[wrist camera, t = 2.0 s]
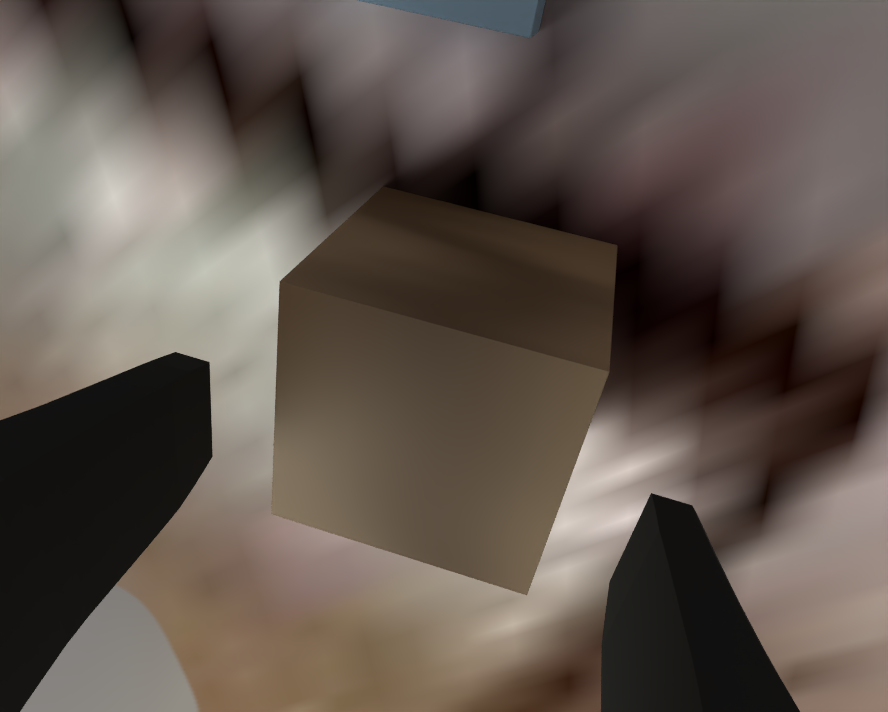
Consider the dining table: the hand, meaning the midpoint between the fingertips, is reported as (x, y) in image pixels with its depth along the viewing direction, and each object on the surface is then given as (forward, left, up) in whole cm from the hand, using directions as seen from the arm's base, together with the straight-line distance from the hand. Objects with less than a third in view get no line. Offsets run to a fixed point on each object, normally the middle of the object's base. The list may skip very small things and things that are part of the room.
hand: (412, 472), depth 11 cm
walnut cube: (0, 0, -6) cm, 6 cm away
